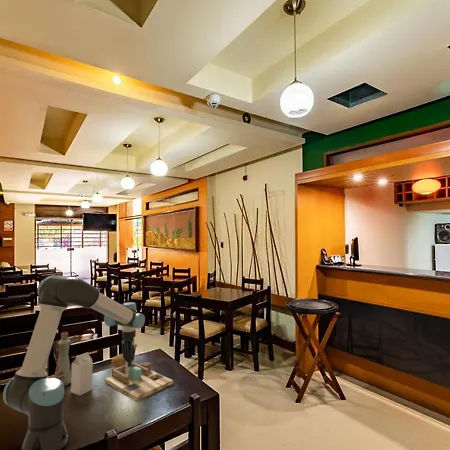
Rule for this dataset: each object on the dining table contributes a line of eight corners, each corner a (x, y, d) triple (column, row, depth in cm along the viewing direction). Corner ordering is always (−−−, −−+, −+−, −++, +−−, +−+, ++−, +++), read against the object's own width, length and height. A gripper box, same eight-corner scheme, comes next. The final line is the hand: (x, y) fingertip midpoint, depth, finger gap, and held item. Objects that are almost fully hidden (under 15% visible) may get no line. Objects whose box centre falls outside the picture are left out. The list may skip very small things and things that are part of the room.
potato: (108, 367, 186) (108, 354, 186) (130, 361, 195) (130, 349, 195) (114, 373, 179) (114, 359, 179) (137, 366, 188) (137, 353, 188)
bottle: (71, 386, 163) (72, 333, 164) (51, 389, 160) (53, 335, 161) (72, 379, 171) (73, 328, 172) (54, 381, 168) (55, 330, 169)
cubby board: (136, 401, 148) (136, 389, 148) (105, 382, 167) (105, 372, 168) (172, 383, 166) (172, 373, 166) (140, 368, 185) (140, 359, 185)
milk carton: (70, 392, 156) (71, 355, 157) (83, 386, 162) (83, 350, 163) (80, 396, 153) (80, 357, 154) (92, 389, 159) (92, 353, 160)
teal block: (133, 381, 165) (133, 371, 165) (128, 378, 168) (128, 369, 168) (141, 377, 169) (141, 368, 169) (136, 375, 172) (136, 366, 172)
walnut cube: (146, 372, 175) (146, 365, 175) (141, 371, 176) (141, 364, 177) (150, 370, 178) (151, 363, 179) (145, 368, 180) (145, 362, 180)
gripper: (141, 330, 172) (140, 373, 171) (128, 326, 181) (127, 366, 180) (129, 334, 167) (128, 377, 166) (116, 329, 175) (116, 370, 174)
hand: (128, 371), depth 173 cm, fingers closed
